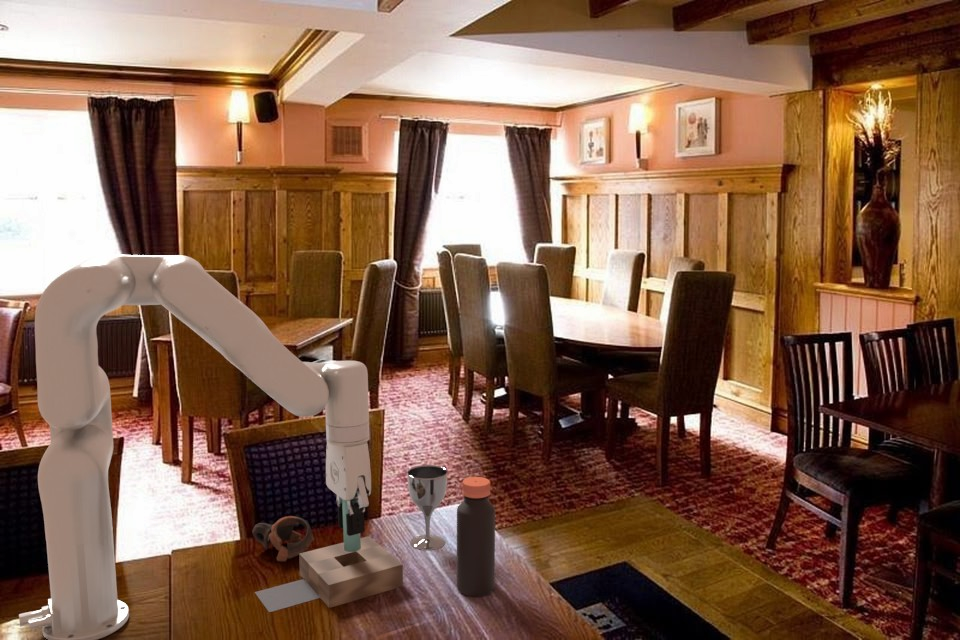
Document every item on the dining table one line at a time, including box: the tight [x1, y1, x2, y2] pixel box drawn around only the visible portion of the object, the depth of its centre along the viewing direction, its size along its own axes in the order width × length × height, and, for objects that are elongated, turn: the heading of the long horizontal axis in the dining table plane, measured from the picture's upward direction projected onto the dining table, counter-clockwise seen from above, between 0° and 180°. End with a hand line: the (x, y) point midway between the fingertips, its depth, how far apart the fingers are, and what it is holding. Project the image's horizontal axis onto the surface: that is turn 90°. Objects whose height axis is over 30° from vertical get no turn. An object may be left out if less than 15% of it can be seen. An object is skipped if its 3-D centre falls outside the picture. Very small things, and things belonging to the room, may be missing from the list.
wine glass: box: [407, 464, 448, 551], centre depth 157 cm, size 8×8×15 cm
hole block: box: [298, 535, 404, 609], centre depth 142 cm, size 14×14×4 cm
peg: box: [342, 493, 361, 552], centre depth 140 cm, size 3×3×12 cm
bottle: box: [456, 476, 496, 597], centre depth 139 cm, size 7×7×20 cm
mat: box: [254, 578, 321, 613], centre depth 137 cm, size 10×8×1 cm
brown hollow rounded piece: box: [251, 515, 315, 562], centre depth 153 cm, size 12×10×8 cm
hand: (351, 529), depth 141 cm, fingers closed on peg, 3 cm apart
